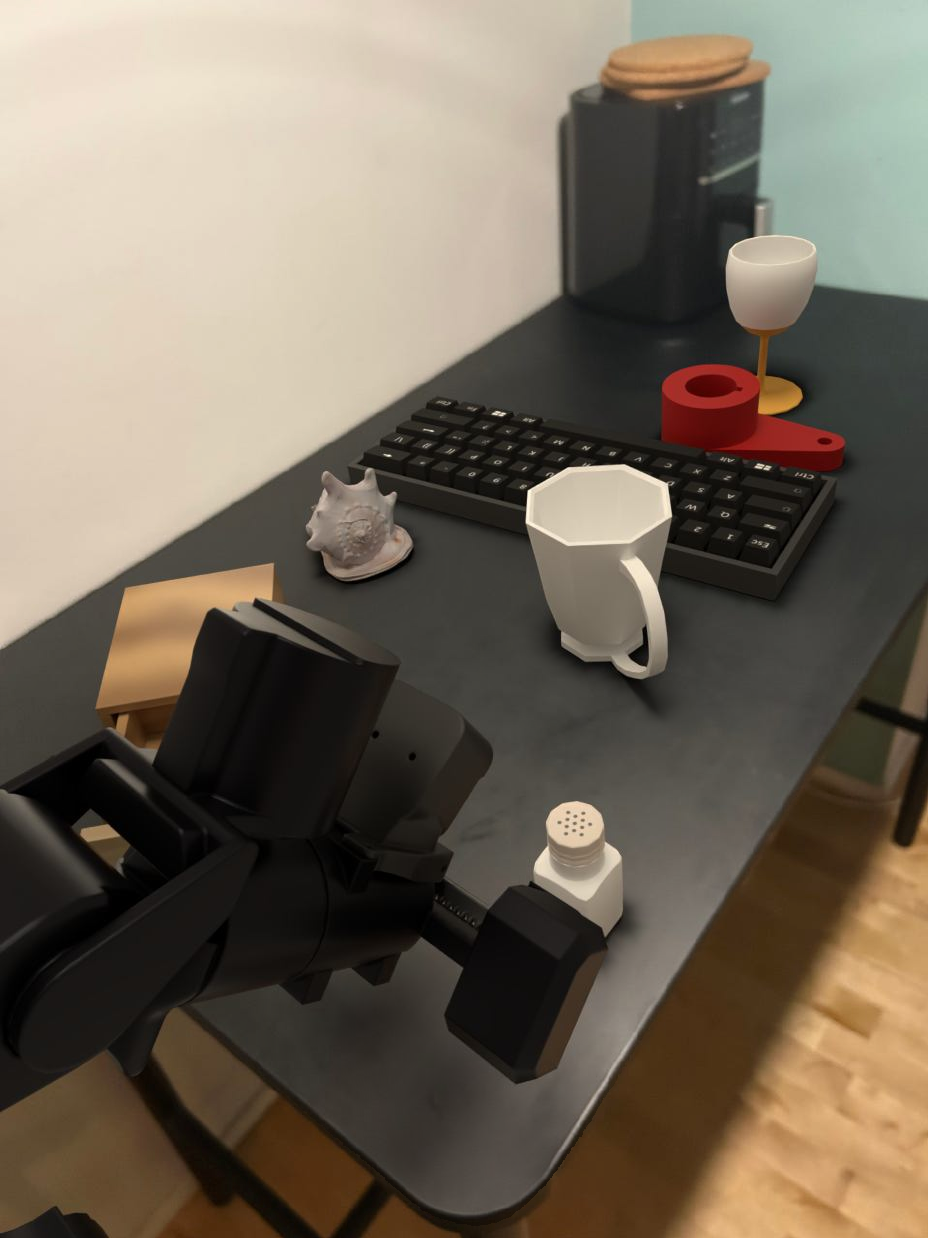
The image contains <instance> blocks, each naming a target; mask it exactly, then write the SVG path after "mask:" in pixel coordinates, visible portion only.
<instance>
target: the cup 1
mask: <svg viewBox="0 0 928 1238" xmlns="http://www.w3.org/2000/svg"><path fill="white" fill-rule="evenodd" d="M671 519H672V513H671V506H670V498H669V491H668V484H667V483H665V482H663V481H660V480H658V479H656V478H654V477H651V476H649V475H647V474H645V473H642V472H640V471H638V470H636V469H633V468H631V467H629V466H627V465H625V464H624V465H605V466H586V467H568V468H567V469H565V470H563V471H561V472H560V473H558V474H556V475H554V476H553V477H551V478H549V479H547V480H546V481H544V482H542V483H540V484H539V485H537V486H535V487H533V488H532V489H530V490H528V497H527V512H526V526H527V530H528V534H529V535H528V537H529V540H530V545H531V548H532V551H533V555H534V559H535V562H536V566H537V570H538V574H539V578H540V581H541V585H542V589H543V594H544V597H545V600H546V603H547V605H548V608H549V610H550V612H551V614H552V618H553V619H554V621H555V625H556V627H557V629H558V630H559V631H561V632H560V637H561V638H560V640H561V641H560V644H561V647H562V648H563V649H565V650H566V651H568V652H570V653H571V654H573V655H574V656H576V657H577V658H579V659H580V660H582V661H583V662H585V663H592V662H595V663H596V662H611V663H612V664H613V666H614V667H615V668H616V670H617V671H619V672H620V673H621V674H622V675H624V676H626V677H629V678H632V679H636V680H637V679H638V680H644V679H648V678H651V677H654V676H658V675H659V674H661V673H663V672H665V670H666V665H667V663H668V660H669V659H668V658H669V651H668V647H669V646H668V645H669V644H668V632H667V623H666V615H665V611H664V606H663V603H662V600H661V597H660V593H659V589H658V586H659V581H660V577H661V576H660V575H661V572H662V571H661V566H662V561H663V556H664V552H665V547H666V543H667V539H668V534H669V529H670V524H671ZM645 627H646V631H647V641H648V662H647V664H646V666H643V665H639V664H638V663H637V662H635V661H633V660H632V659H631V657H630V656H629V655H630V654H631V653H633V652H634V651H636V650H637V649H638V648H640V647H641V646H642V645H644V635H643V629H644V628H645Z"/></svg>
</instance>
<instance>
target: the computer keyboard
mask: <svg viewBox="0 0 928 1238" xmlns="http://www.w3.org/2000/svg"><path fill="white" fill-rule="evenodd" d="M624 464H625V465H627V466H629V467H631V468H633V469H636V470H638V471H640V472H642V473H645V474H647V475H649V476H651V477H654V478H656V479H658V480H660V481H663V482H665V483H667V484H668V491H669V498H670V506H671V513H672V519H671V524H670V529H669V534H668V539H667V543H666V547H665V552H664V556H663V561H662V566H661V571H660V572H664V573H667V574H672V575H676V576H679V577H683V578H687V579H690V580H694V581H698V582H701V583H705V584H709V585H712V586H716V587H720V588H724V589H728V590H731V591H735V592H738V593H743V594H746V595H750V596H753V597H757V598H761V599H763V600H764V599H765V600H768V601H772V602H775V601H776V599H777V598H778V595H780V592H781V591H782V589H783V587H784V585H785V584H786V582H787V581H788V579H789V578H790V576H791V574H792V573H793V571H794V569H795V567H796V566H797V564H798V563H799V561H800V559H801V558H802V556H803V555H804V553H805V551H806V550H807V547H808V546H809V545H810V543H811V541H812V539H813V538H814V536H815V535H816V533H817V531H818V530H819V528H820V526H821V525H822V523H823V521H824V520H825V518H826V517H827V515H828V513H829V512H830V510H831V508H832V507H833V505H834V503H835V498H836V497H835V496H836V490H837V483H838V477H833V476H828V475H823V474H822V473H821V471H811V470H806V469H801V468H796V467H791V466H789V467H788V468H784V467H780V466H779V464H776V463H771V462H766V461H761V460H756V459H750V461H749V460H744V459H742V457H741V456H736V455H731V454H725V453H720V452H715V451H714V452H713V453H708V452H705V449H700V448H695V447H690V446H685V445H680V444H675V443H670V442H665V441H661V440H659V439H654V438H649V437H644V436H640V435H635V434H629V433H625V432H620V431H615V430H608V429H604V428H600V427H594V426H589V425H584V424H580V423H579V424H578V423H574V422H569V421H565V420H559V419H553V418H548V419H544V418H543V417H542V416H538V415H533V414H530V413H529V414H528V413H524V412H519V413H514V412H513V410H509V409H503V408H497V407H493V406H491V407H490V408H487V407H486V406H485V405H482V404H478V403H474V402H467V401H463V402H459V401H458V400H457V399H452V398H447V397H443V396H439V395H438V396H435V397H432V398H431V399H429V400H428V401H427V402H426V403H424V404H423V405H422V406H420V407H419V408H418V409H417V410H416V411H414V412H413V413H411V414H410V415H409V416H408V417H407V418H406V419H404V420H403V421H402V422H400V423H399V424H398V425H396V426H395V427H394V428H393V429H392V430H390V431H389V432H388V433H387V434H385V435H384V436H383V437H382V438H380V439H379V440H377V442H374V444H373V445H371V446H370V447H368V448H367V449H366V450H365V451H363V452H362V453H361V454H360V455H359V456H357V457H356V458H355V459H353V461H350V463H349V464H348V465H346V467H347V471H348V476H349V480H350V485H356V484H358V483H360V482H361V481H363V480H364V479H365V472H366V470H367V469H369V468H372V469H373V470H374V472H375V476H376V481H377V486H378V490H379V492H380V493H381V494H382V495H383V496H388V495H390V494H391V493H392V492H396V493H397V499H396V501H400V502H403V503H407V504H411V505H414V506H417V507H422V508H426V509H430V510H432V511H437V512H441V513H444V514H448V515H451V516H456V517H459V518H464V519H466V520H471V521H474V522H478V523H481V524H484V525H485V524H486V525H489V526H493V527H497V528H500V529H504V530H508V531H510V532H514V533H515V532H516V533H519V534H522V535H526V536H529V534H528V530H527V526H526V512H527V497H528V490H530V489H532V488H533V487H535V486H537V485H539V484H540V483H542V482H544V481H546V480H547V479H549V478H551V477H553V476H554V475H556V474H558V473H560V472H561V471H563V470H565V469H567V468H568V467H586V466H605V465H624Z"/></svg>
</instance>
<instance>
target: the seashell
mask: <svg viewBox="0 0 928 1238" xmlns="http://www.w3.org/2000/svg"><path fill="white" fill-rule="evenodd" d="M321 484H322V487H323V488H324V489H323V491H322V493H321V496H320V497H319V500H318V503H317V504H315V505H313V506H311V508H310V509H311V510H312V512H313V513H312V516H311V518H310V520H309V521H308V523H307V524H305V531H306V534H308V536H309V538H310V539H309V540H308V541H307V542H306V548H307V549H308V550H309V551H311V552H314V553H315V552H316V553H317V552H320V554H321V556H322V558H323V564H324V568H325V570H326V572H328V574H329V575H331V576H332V577H334V578H335V579H337V580H339V581H342V582H354V581H360V580H363V579H367V578H370V577H373V576H377V575H379V574H381V573H383V572H386V571H388V570H390V569H393V568H394V567H396V566H397V565H398V564H400V563H401V562H402V561H404V560H405V559H407V558H408V556H409V555H410V553H411V551H412V550H413V548H414V541H413V539H412V538H411V536H410V534H409V533H408V532H407V530H406V529H405V528H403V527H402V526H400V525H398V524H395V522H394V521H395V520H394V509H395V506H396V502H397V500H396V499H397V493H396V492H392V493H391V494H390V495H388V496H383V495H382V494H381V493H380V492H379V490H378V486H377V481H376V476H375V472H374V470H373V469H372V468H369V469H367V470H366V472H365V479H364V480H363V481H361V482H360V483H358V484H356V485H351V484H345V483H343V482H342V481H340V480H339V478H337V477H335V476H334V475H333V474H332V473H331V472H330V471H328V470H326V471H324V472H323V473H322V475H321Z"/></svg>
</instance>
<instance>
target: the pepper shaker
mask: <svg viewBox="0 0 928 1238" xmlns="http://www.w3.org/2000/svg"><path fill="white" fill-rule="evenodd" d="M604 823H605V822H604V819H603V816H602V814H601V812H600V811H598V810H597V809H596V808H595V807H594V806H593V805H591V804H589V803H586V802H582V801H578V800H576V801H569V802H568V801H567V802H563V803H561V804H559V805H558V806H556V807H555V808H553V809H552V810H550V812H549V815H548V816H547V819H546V821H545V829H546V839H547V840H546V841H547V846H546V847H545V848H544V850H543V851H542V852H541V853H540V855H539V856H538V858H537V859H536V860H535V863H534V867H533V879H534V880H533V882H534V883H536V884H537V885H539V886H540V887H542V888H543V889H545V890H547V891H548V892H550V893H551V894H553V895H554V896H556V897H557V898H559V899H561V900H562V901H564V902H565V903H567V904H568V905H570V906H572V907H573V908H575V909H576V910H578V911H579V912H580V913H581V915H583V916H585V917H586V918H588V919H589V920H591V921H592V922H594V923H595V924H597V925H599V926H600V927H602V929H603V933H604V936H605V938H607V936H608V935H609V933H610V932H611V930H613V928H614V927H615V925H616V924H617V922H619V920H620V918H621V917H622V915H623V910H624V891H623V887H624V885H623V857H622V856H621V854H620V852H619V851H618V849H616V848H615V847H614V846H612V845H611V844H609V843H608V842H606V835H605V834H606V833H605V832H606V831H605V824H604Z"/></svg>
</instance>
